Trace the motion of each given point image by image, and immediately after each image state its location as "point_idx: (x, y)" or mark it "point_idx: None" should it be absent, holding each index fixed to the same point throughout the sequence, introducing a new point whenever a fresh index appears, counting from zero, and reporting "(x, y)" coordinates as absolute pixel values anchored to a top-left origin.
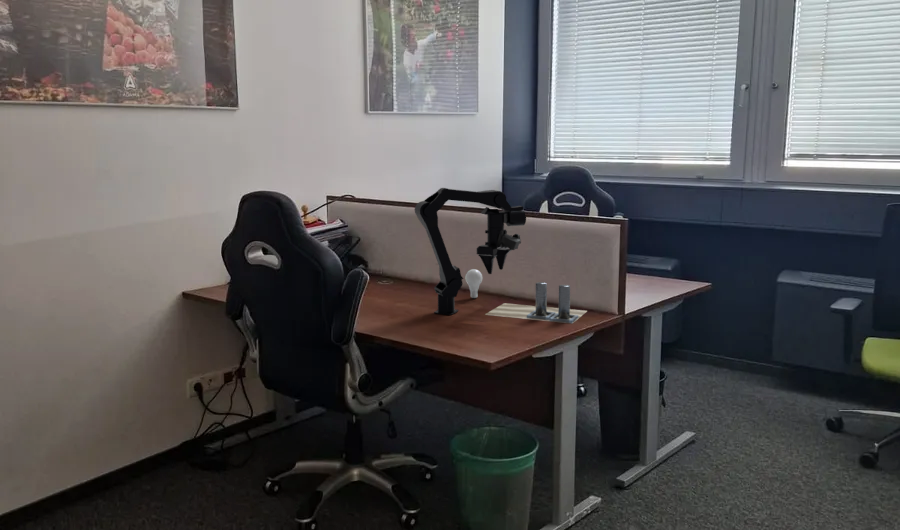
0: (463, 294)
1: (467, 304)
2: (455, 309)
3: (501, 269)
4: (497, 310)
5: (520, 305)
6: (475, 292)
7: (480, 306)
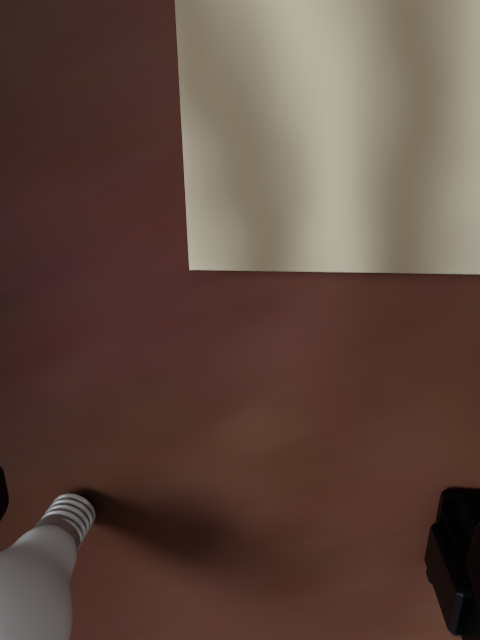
0: None
1: (237, 492)
2: (443, 511)
3: (3, 474)
4: (456, 228)
5: (208, 106)
6: (70, 523)
7: (256, 410)
